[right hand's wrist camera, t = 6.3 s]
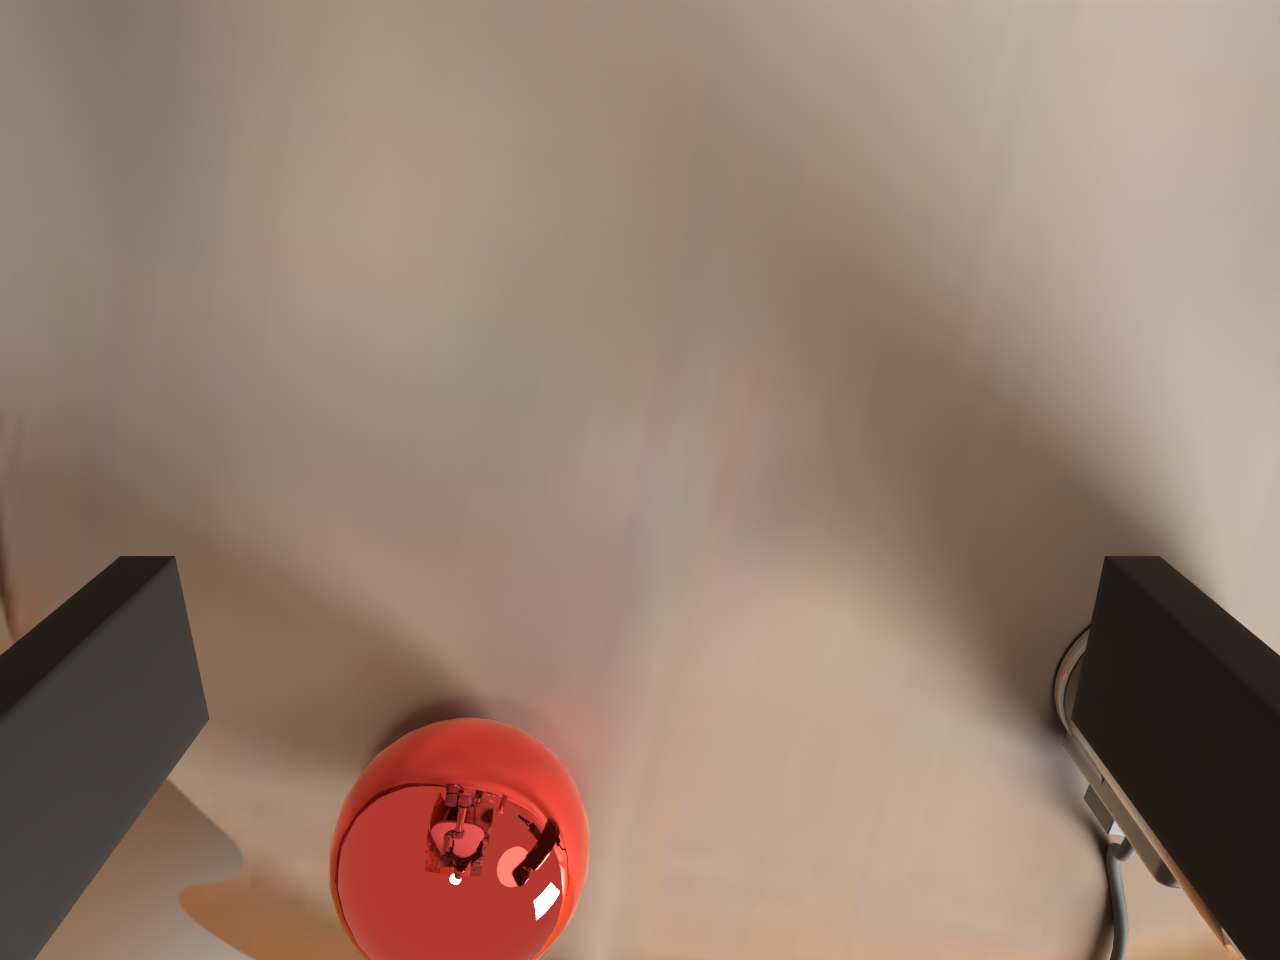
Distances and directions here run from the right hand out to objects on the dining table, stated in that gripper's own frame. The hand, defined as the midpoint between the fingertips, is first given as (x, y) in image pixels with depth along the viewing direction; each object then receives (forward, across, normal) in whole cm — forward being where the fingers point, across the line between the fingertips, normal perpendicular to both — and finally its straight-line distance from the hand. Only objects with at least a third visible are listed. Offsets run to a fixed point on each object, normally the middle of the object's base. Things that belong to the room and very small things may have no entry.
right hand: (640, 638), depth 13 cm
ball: (+28, -8, -25) cm, 38 cm away
